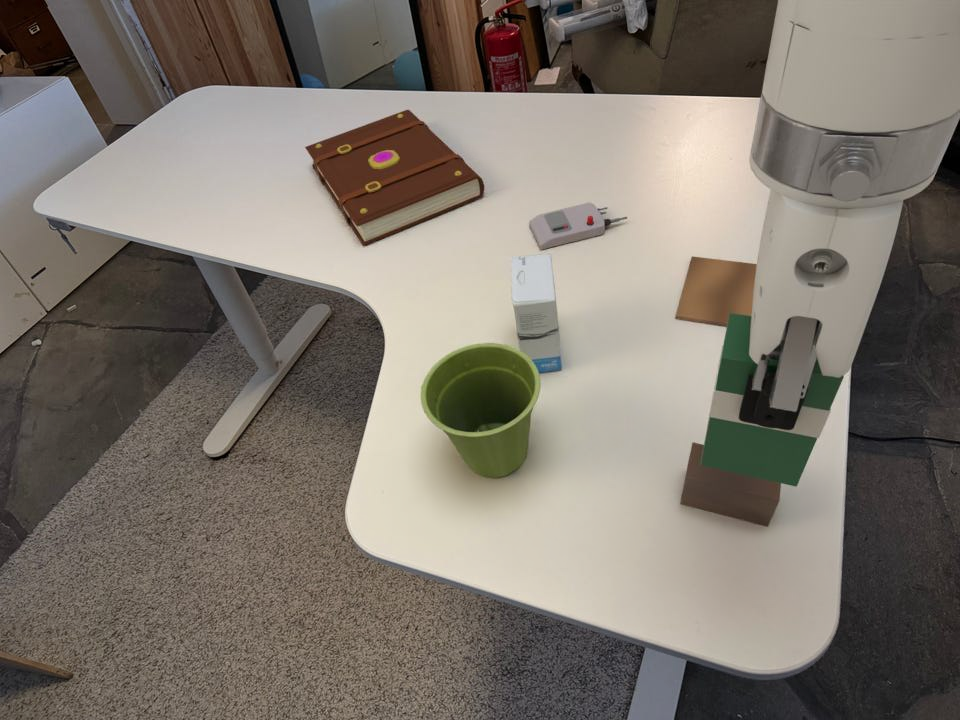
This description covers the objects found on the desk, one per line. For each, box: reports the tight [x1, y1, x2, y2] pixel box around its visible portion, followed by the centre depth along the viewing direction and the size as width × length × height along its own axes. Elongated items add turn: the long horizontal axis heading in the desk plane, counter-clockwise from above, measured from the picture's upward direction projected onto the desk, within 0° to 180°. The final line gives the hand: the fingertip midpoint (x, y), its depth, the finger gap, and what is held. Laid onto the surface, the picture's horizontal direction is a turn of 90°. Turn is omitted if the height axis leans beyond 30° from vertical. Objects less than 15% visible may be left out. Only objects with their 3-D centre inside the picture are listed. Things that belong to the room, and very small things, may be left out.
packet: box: [700, 313, 845, 488], centre depth 41 cm, size 9×7×12 cm
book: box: [304, 109, 485, 247], centre depth 108 cm, size 23×32×5 cm
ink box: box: [510, 252, 562, 374], centre depth 72 cm, size 8×5×12 cm, turn 179°
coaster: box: [675, 256, 757, 328], centre depth 77 cm, size 12×12×1 cm
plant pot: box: [420, 342, 542, 479], centre depth 63 cm, size 12×12×11 cm
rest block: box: [679, 442, 782, 528], centre depth 57 cm, size 8×4×5 cm, turn 68°
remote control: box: [528, 202, 628, 251], centre depth 91 cm, size 7×16×3 cm, turn 101°
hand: (768, 391), depth 40 cm, fingers closed on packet, 4 cm apart
